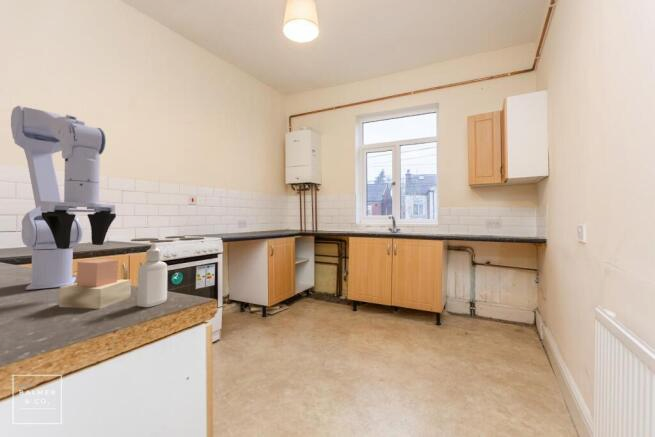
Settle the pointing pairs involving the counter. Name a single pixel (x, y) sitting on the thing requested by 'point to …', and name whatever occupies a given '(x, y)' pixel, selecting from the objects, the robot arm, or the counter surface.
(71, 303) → the birch block
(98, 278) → the terracotta cube
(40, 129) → the robot arm
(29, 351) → the counter surface
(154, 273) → the eye dropper bottle
